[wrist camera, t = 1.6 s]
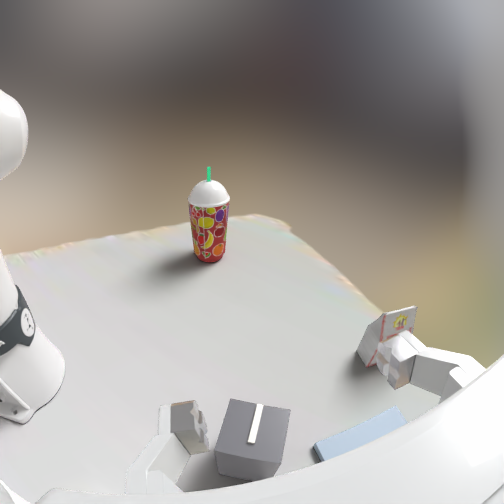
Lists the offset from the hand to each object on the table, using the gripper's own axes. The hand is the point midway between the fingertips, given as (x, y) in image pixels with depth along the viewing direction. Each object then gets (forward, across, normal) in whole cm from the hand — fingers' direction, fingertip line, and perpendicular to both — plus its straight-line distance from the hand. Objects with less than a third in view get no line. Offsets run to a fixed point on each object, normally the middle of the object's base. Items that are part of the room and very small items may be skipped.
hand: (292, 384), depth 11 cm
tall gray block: (+10, +5, +23) cm, 25 cm away
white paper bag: (+22, -19, +25) cm, 38 cm away
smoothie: (+53, +4, +12) cm, 54 cm away
